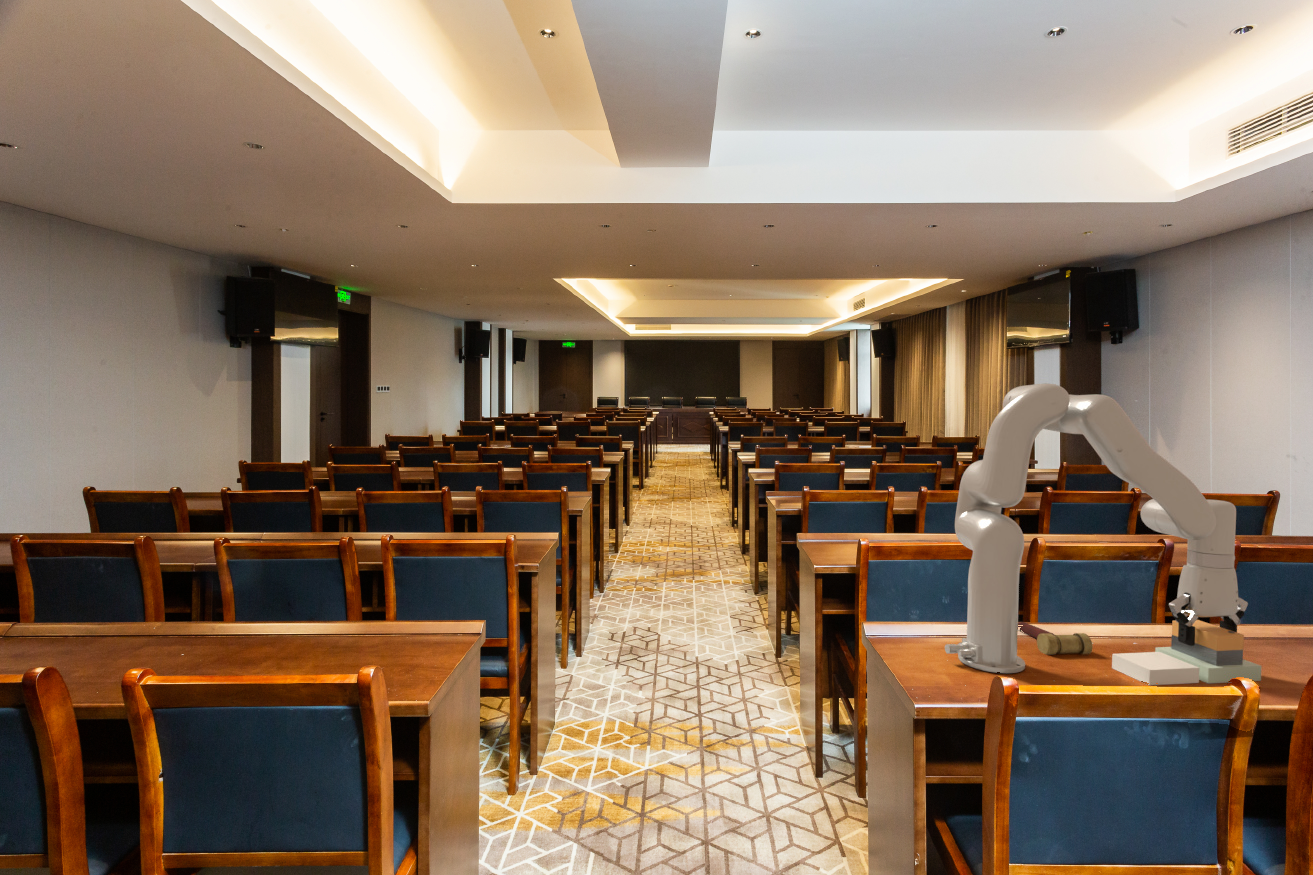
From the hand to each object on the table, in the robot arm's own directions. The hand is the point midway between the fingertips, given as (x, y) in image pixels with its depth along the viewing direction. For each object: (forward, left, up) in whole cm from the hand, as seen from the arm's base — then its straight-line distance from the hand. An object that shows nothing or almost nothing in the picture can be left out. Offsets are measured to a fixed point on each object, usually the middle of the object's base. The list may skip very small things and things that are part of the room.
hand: (1207, 642), depth 140 cm
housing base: (0, 0, -3) cm, 3 cm away
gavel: (-21, +21, -6) cm, 31 cm away
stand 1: (-13, -1, -6) cm, 14 cm away
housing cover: (0, 0, 0) cm, 0 cm away
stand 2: (0, 0, -6) cm, 6 cm away
